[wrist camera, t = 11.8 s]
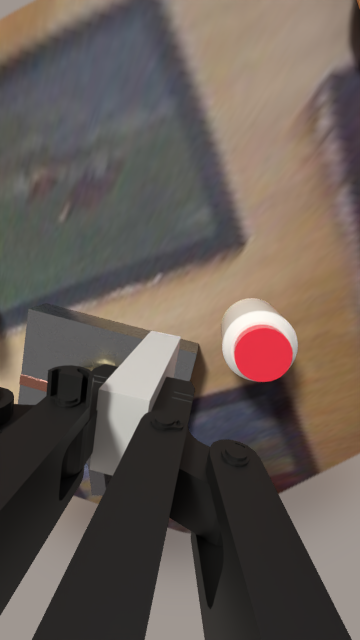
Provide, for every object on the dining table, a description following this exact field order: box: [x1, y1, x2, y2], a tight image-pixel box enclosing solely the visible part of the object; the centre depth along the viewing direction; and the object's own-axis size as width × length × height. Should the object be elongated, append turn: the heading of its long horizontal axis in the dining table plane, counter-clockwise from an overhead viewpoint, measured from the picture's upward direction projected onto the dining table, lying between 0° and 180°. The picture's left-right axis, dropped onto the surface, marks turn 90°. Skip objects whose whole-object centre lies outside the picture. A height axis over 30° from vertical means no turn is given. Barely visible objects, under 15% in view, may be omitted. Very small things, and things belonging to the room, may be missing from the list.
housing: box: [18, 304, 199, 463], centre depth 42 cm, size 22×21×4 cm
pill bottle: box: [221, 298, 298, 382], centre depth 34 cm, size 8×8×11 cm
